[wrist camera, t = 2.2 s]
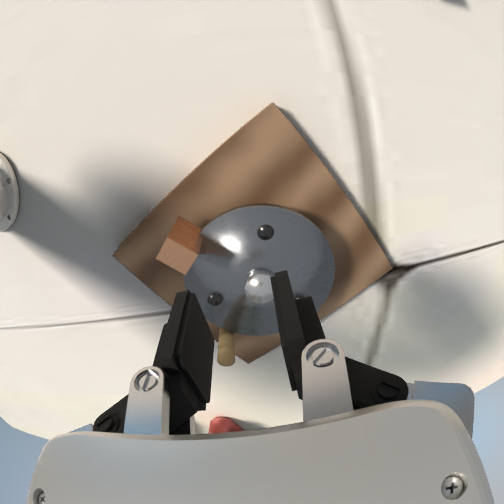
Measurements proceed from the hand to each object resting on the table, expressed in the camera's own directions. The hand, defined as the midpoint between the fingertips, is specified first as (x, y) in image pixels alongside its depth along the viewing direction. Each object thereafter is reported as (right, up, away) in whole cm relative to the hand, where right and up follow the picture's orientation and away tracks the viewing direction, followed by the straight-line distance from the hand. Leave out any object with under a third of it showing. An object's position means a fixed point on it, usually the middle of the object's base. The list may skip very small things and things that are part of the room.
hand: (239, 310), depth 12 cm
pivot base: (+1, +2, +23) cm, 23 cm away
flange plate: (0, +1, +19) cm, 19 cm away
